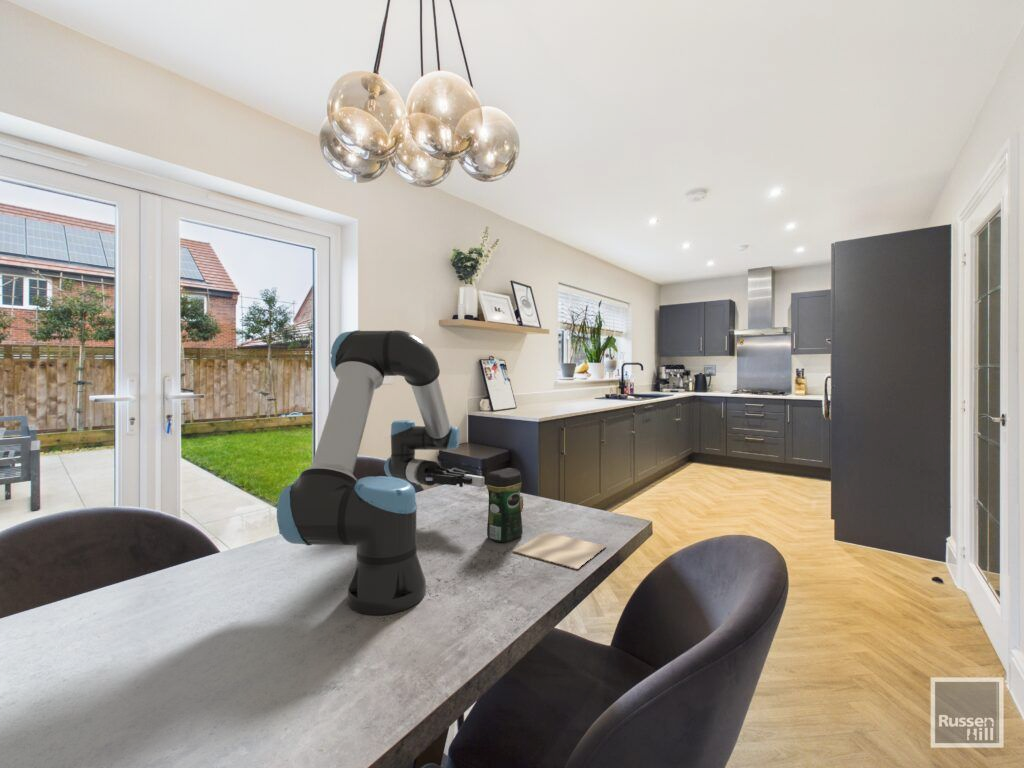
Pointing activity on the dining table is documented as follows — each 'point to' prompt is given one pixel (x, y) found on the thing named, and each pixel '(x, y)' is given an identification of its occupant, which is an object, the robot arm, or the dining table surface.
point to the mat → (560, 550)
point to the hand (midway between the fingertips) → (482, 482)
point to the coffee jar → (504, 505)
